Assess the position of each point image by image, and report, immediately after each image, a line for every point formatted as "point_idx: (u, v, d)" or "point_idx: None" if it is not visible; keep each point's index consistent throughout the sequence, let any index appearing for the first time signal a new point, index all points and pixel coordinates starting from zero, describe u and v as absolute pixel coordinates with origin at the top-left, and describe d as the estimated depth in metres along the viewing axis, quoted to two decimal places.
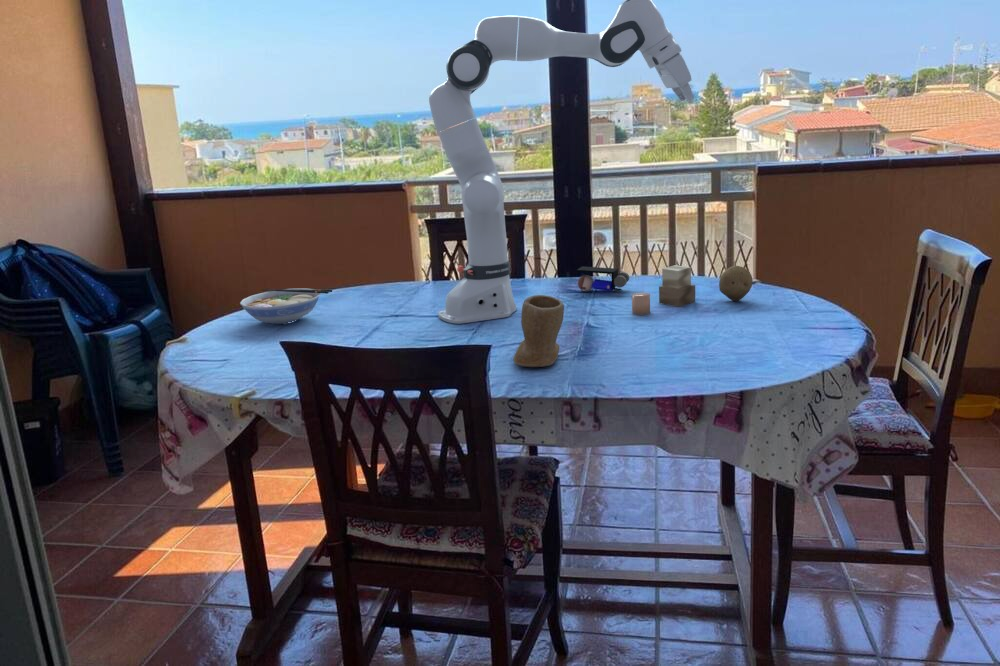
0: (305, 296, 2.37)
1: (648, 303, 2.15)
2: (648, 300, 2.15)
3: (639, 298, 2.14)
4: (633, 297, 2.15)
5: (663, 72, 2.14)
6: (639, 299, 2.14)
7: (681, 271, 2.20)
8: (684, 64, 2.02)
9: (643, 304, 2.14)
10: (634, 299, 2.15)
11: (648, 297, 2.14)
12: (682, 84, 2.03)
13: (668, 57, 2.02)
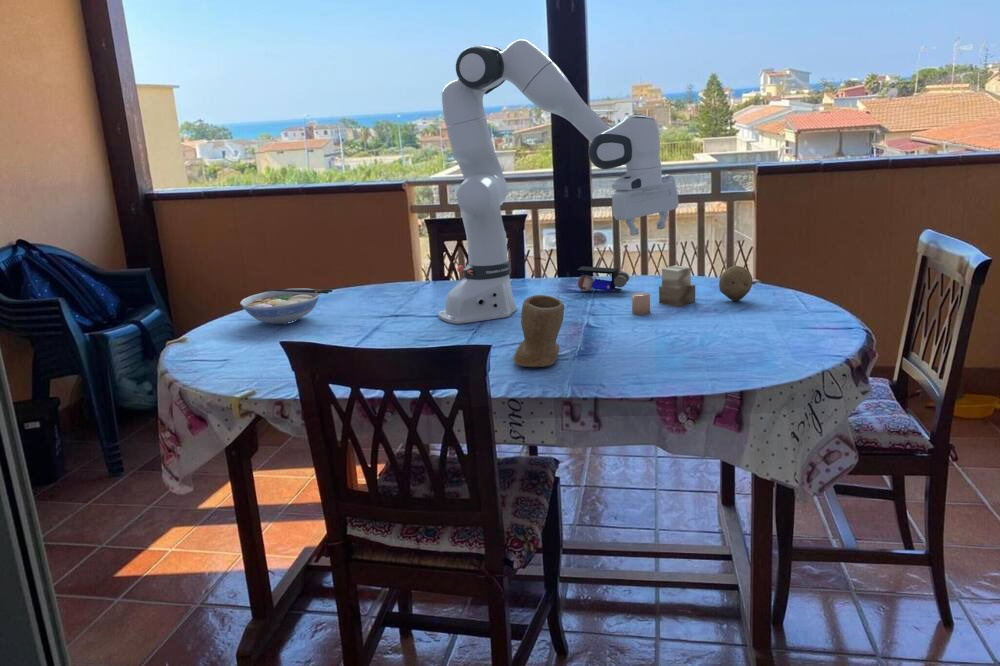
0: (305, 296, 2.37)
1: (648, 303, 2.15)
2: (648, 300, 2.15)
3: (639, 298, 2.14)
4: (633, 297, 2.15)
5: None
6: (639, 299, 2.14)
7: (680, 271, 2.19)
8: (622, 203, 2.03)
9: (643, 304, 2.14)
10: (634, 299, 2.15)
11: (648, 297, 2.14)
12: (616, 218, 2.06)
13: (618, 188, 2.05)
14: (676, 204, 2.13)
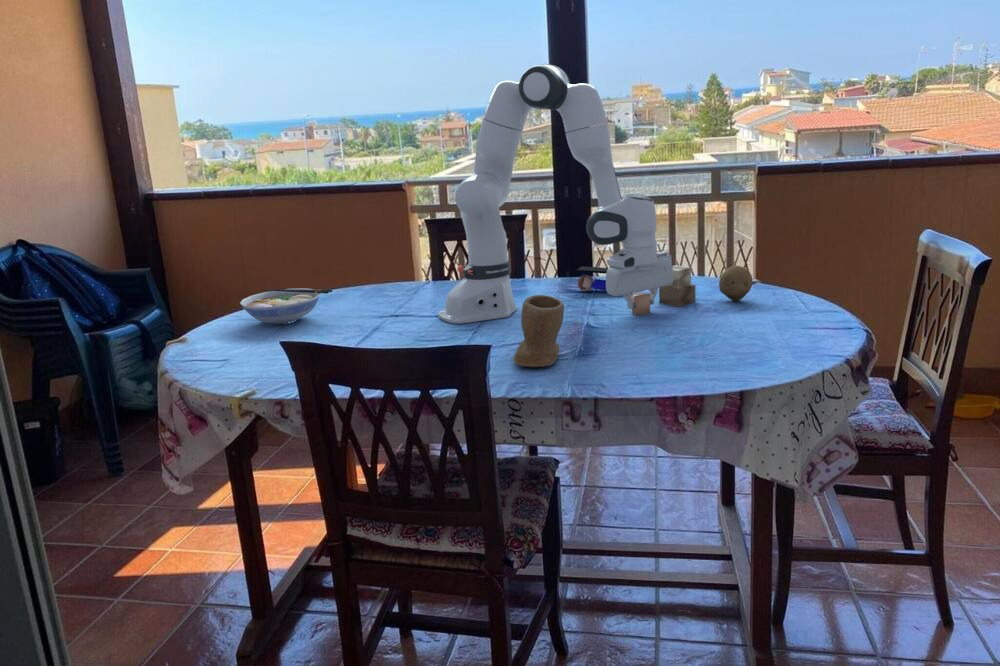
0: (305, 296, 2.37)
1: (648, 303, 2.15)
2: (648, 300, 2.15)
3: (639, 298, 2.14)
4: (633, 297, 2.15)
5: None
6: (639, 298, 2.14)
7: (681, 271, 2.20)
8: (614, 280, 2.09)
9: (643, 304, 2.14)
10: (634, 299, 2.15)
11: (648, 297, 2.14)
12: (608, 293, 2.12)
13: (611, 265, 2.10)
14: (671, 280, 2.17)
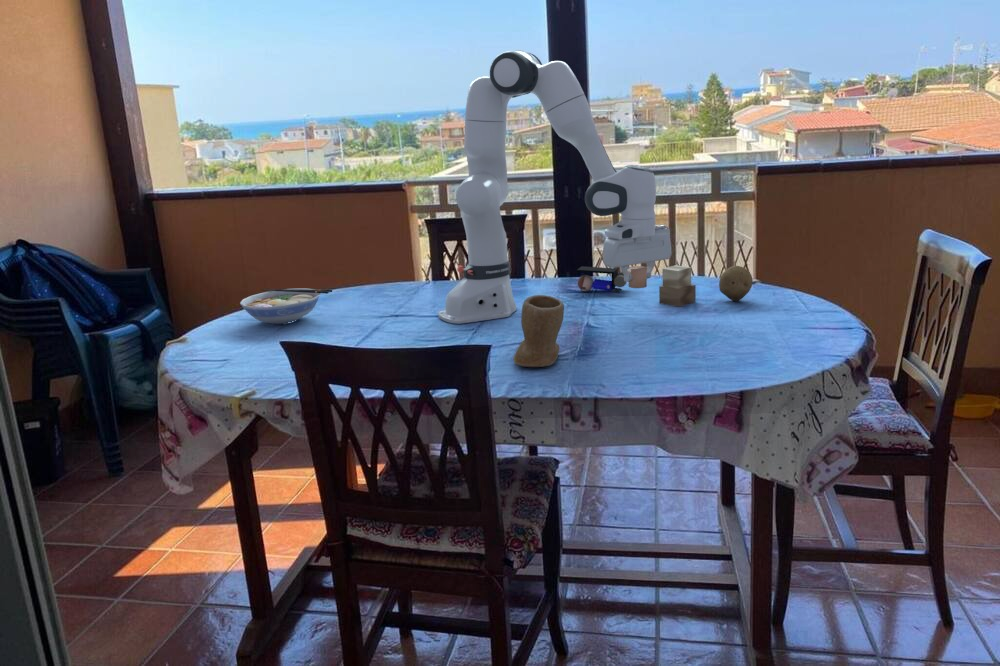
0: (305, 296, 2.37)
1: (645, 276, 2.13)
2: (645, 273, 2.13)
3: (636, 271, 2.12)
4: (630, 270, 2.13)
5: None
6: (636, 271, 2.12)
7: (681, 271, 2.20)
8: (611, 251, 2.07)
9: (640, 277, 2.12)
10: (631, 272, 2.13)
11: (645, 270, 2.13)
12: (605, 265, 2.10)
13: (609, 236, 2.08)
14: (669, 255, 2.16)
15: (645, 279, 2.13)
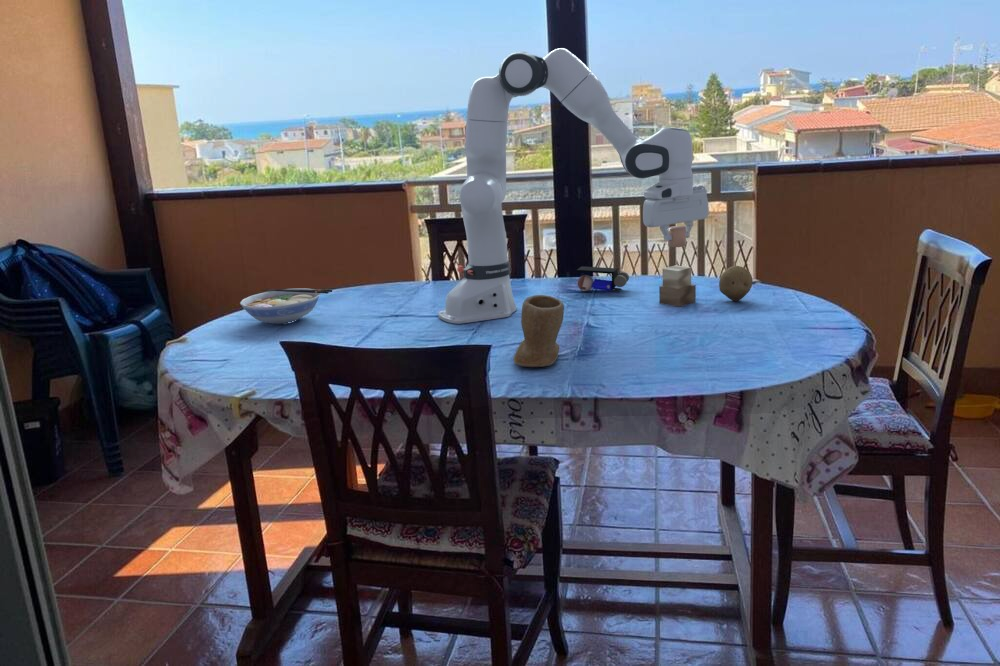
0: (305, 296, 2.37)
1: (684, 235, 2.18)
2: (684, 232, 2.18)
3: (675, 230, 2.17)
4: (669, 229, 2.18)
5: None
6: (676, 230, 2.17)
7: (681, 271, 2.19)
8: (651, 211, 2.12)
9: (679, 236, 2.17)
10: (670, 231, 2.18)
11: (684, 229, 2.18)
12: (645, 225, 2.15)
13: (649, 196, 2.13)
14: (706, 214, 2.21)
15: (684, 238, 2.18)
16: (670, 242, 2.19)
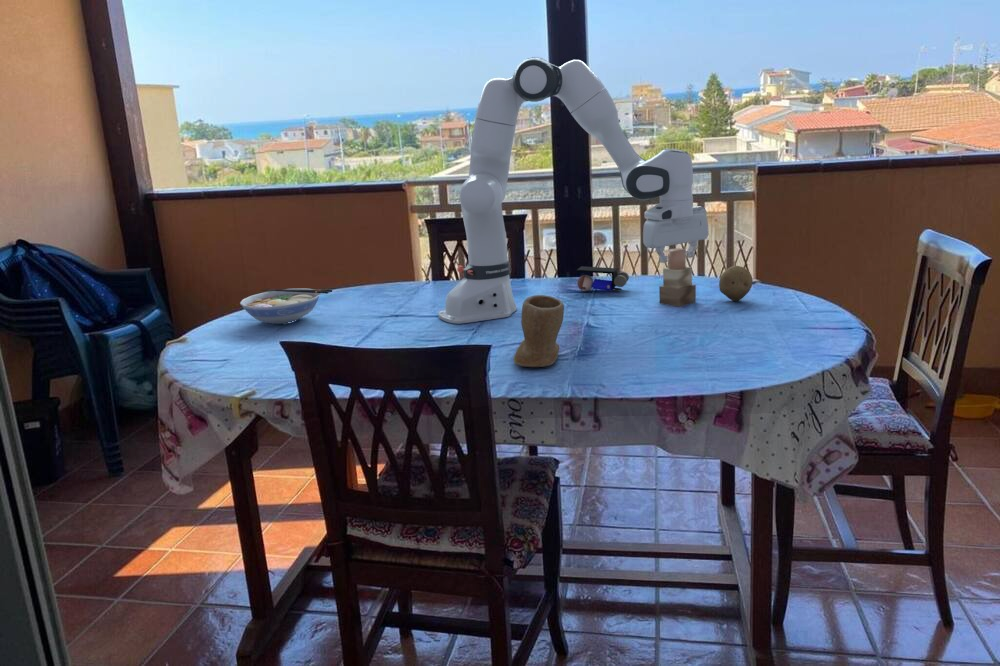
0: (305, 296, 2.37)
1: (684, 258, 2.20)
2: (684, 255, 2.20)
3: (675, 253, 2.19)
4: (669, 252, 2.20)
5: None
6: (675, 253, 2.19)
7: (682, 271, 2.20)
8: (652, 232, 2.13)
9: (679, 259, 2.19)
10: (670, 254, 2.20)
11: (684, 252, 2.19)
12: None
13: (649, 218, 2.15)
14: (706, 235, 2.22)
15: (684, 260, 2.20)
16: (670, 264, 2.21)
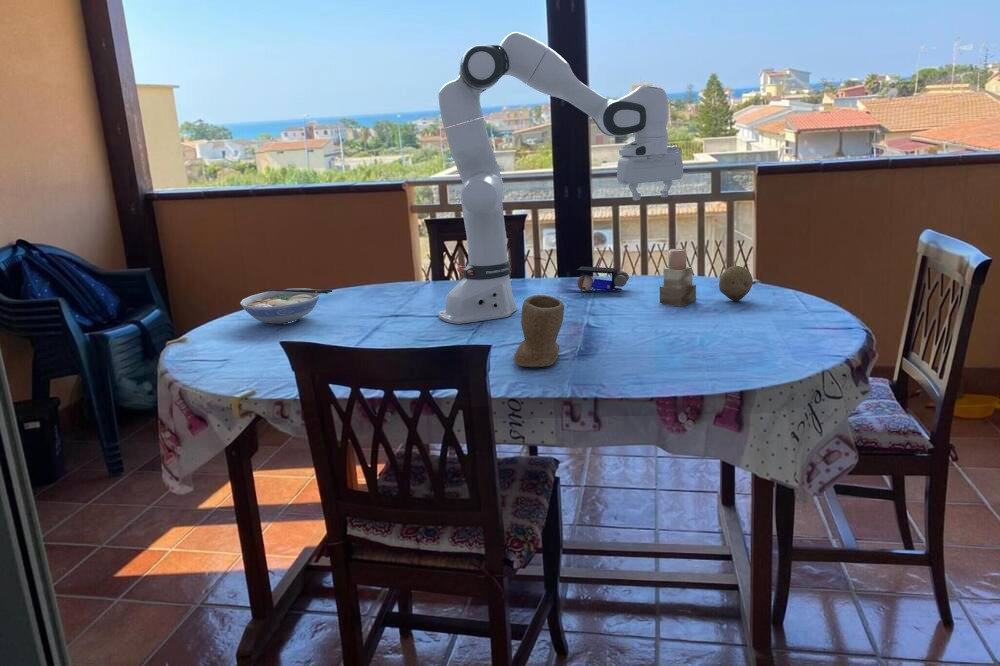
0: (305, 296, 2.37)
1: (684, 258, 2.20)
2: (685, 255, 2.20)
3: (676, 253, 2.19)
4: (670, 252, 2.20)
5: None
6: (676, 253, 2.19)
7: (682, 271, 2.20)
8: (625, 168, 2.15)
9: (680, 259, 2.19)
10: (671, 254, 2.20)
11: (685, 252, 2.19)
12: (619, 182, 2.19)
13: (623, 154, 2.17)
14: (680, 174, 2.24)
15: (685, 261, 2.20)
16: (670, 265, 2.21)
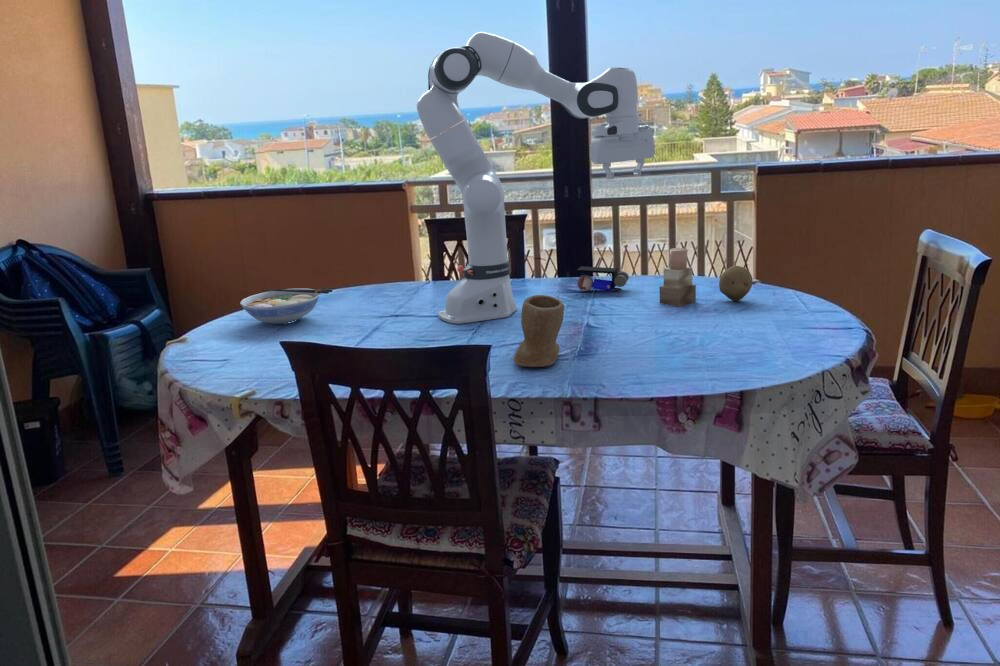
0: (305, 296, 2.37)
1: (685, 258, 2.20)
2: (685, 255, 2.19)
3: (676, 252, 2.19)
4: (670, 251, 2.20)
5: None
6: (676, 253, 2.19)
7: (682, 271, 2.20)
8: (598, 148, 2.21)
9: (679, 259, 2.19)
10: (671, 253, 2.20)
11: (685, 252, 2.19)
12: (593, 162, 2.25)
13: (595, 134, 2.23)
14: (652, 153, 2.30)
15: (685, 261, 2.20)
16: (670, 264, 2.21)
